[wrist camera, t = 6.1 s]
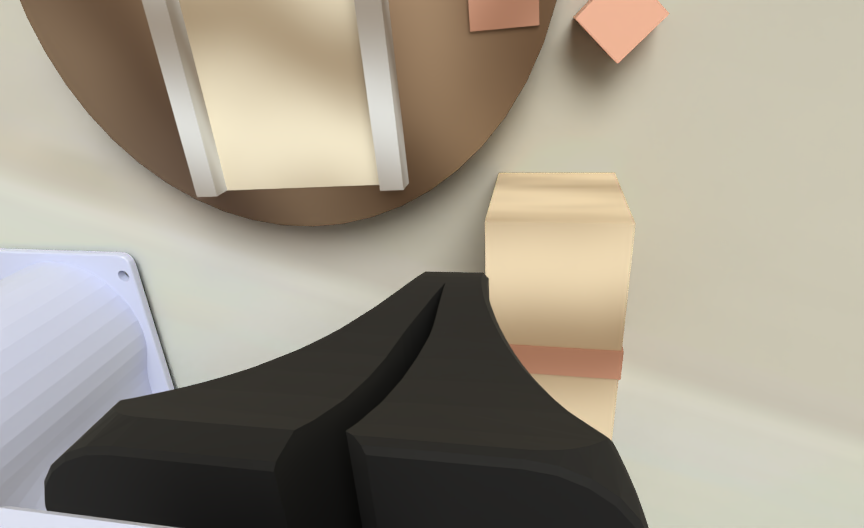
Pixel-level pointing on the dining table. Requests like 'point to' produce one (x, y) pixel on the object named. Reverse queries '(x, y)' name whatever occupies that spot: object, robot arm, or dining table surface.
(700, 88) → the dining table surface
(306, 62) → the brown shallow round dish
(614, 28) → the salmon block
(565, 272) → the oak link block
